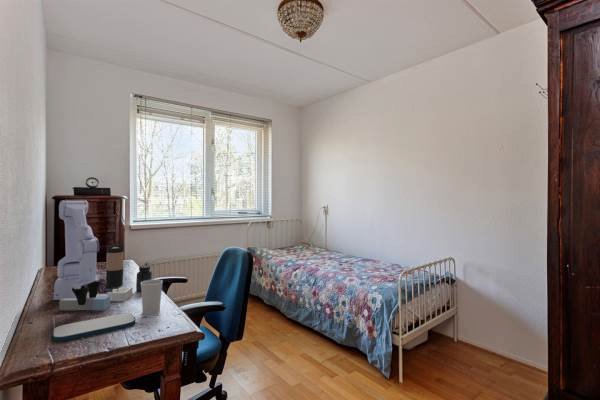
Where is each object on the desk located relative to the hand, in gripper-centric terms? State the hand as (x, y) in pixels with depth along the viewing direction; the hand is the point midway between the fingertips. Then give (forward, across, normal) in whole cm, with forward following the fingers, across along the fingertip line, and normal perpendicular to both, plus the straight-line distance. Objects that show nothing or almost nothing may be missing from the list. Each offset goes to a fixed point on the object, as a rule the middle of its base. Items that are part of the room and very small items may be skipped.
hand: (87, 301), depth 125 cm
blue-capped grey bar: (+3, 0, 0) cm, 3 cm away
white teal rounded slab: (+4, -20, -14) cm, 25 cm away
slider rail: (+3, +13, -1) cm, 13 cm away
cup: (+3, -5, -27) cm, 28 cm away
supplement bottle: (+3, +24, -13) cm, 27 cm away
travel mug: (+3, +33, +5) cm, 34 cm away
